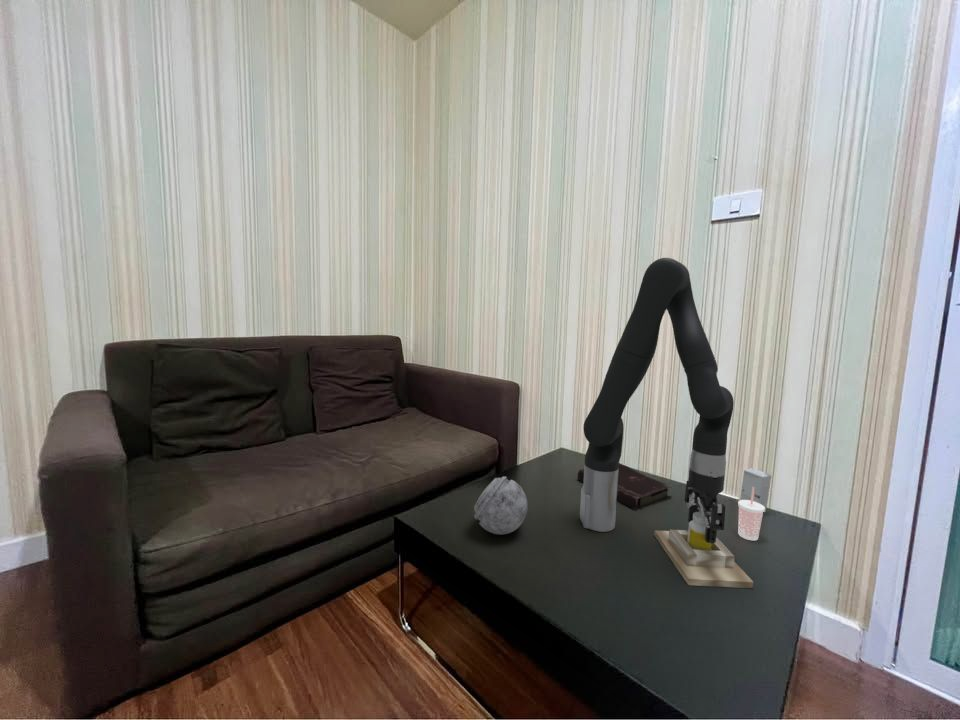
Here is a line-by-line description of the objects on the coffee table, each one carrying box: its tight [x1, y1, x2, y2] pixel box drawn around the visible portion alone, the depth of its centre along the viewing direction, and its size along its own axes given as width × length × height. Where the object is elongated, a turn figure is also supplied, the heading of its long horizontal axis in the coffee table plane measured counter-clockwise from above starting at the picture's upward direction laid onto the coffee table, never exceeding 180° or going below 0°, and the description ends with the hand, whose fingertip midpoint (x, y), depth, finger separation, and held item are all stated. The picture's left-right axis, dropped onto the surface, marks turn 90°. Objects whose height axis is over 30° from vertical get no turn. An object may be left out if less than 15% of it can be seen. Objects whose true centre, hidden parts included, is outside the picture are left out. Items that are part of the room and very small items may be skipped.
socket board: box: [653, 529, 754, 589], centre depth 100 cm, size 14×20×4 cm
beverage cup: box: [737, 487, 765, 541], centre depth 110 cm, size 6×6×14 cm
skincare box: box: [739, 467, 772, 513], centre depth 126 cm, size 6×4×12 cm
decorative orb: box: [473, 476, 528, 536], centre depth 110 cm, size 15×14×15 cm
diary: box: [577, 462, 673, 511], centre depth 139 cm, size 19×25×5 cm
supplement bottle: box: [687, 511, 712, 550], centre depth 99 cm, size 5×5×10 cm
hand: (701, 532), depth 99 cm, fingers open, 8 cm apart
